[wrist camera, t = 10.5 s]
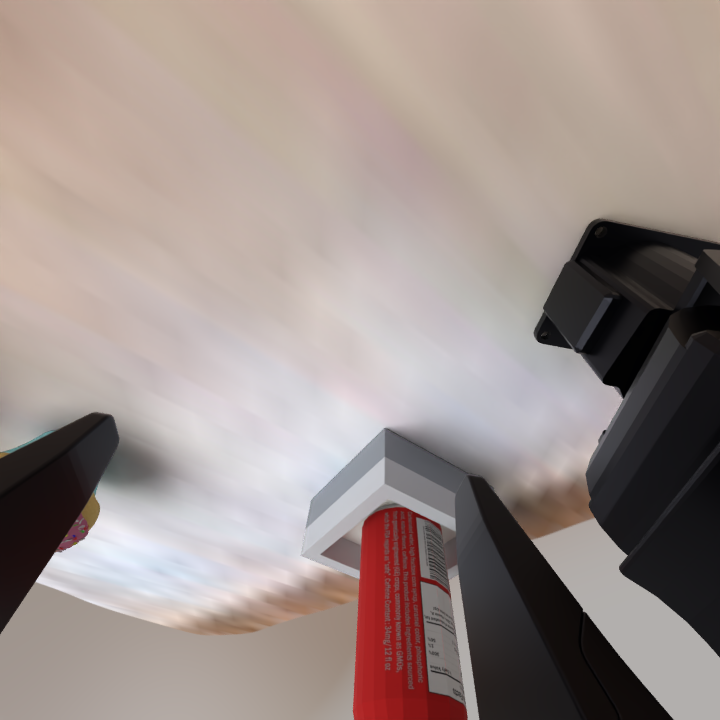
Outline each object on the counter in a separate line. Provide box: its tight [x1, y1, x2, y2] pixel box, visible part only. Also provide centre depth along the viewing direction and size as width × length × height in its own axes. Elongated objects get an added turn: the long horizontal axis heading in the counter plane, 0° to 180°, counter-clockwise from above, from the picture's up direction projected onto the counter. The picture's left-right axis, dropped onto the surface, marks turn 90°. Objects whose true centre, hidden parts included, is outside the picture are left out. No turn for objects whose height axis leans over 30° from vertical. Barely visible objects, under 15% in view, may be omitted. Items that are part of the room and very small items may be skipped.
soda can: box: [353, 504, 468, 720], centre depth 22 cm, size 6×6×12 cm
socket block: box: [301, 428, 494, 580], centre depth 27 cm, size 10×10×4 cm
